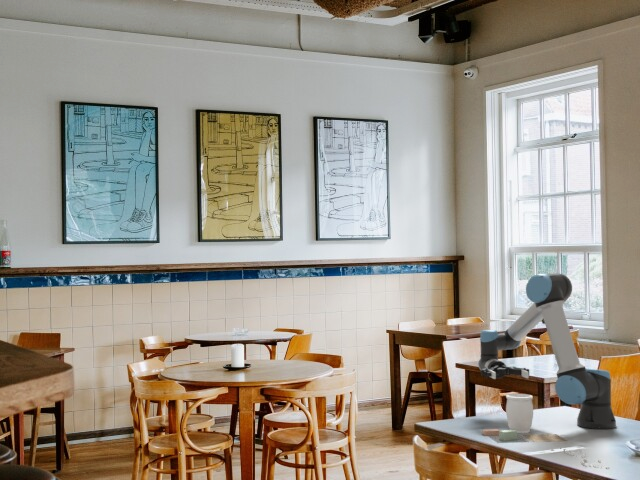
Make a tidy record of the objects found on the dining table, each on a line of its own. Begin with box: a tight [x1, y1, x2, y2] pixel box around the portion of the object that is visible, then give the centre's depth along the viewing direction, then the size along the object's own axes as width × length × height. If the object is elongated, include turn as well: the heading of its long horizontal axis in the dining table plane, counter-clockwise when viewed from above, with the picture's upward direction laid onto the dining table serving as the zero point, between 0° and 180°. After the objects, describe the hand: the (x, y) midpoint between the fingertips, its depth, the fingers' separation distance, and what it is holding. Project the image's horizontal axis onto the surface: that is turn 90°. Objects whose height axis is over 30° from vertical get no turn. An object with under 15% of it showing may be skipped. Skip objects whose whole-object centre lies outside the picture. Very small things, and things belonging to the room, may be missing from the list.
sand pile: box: [522, 433, 568, 443], centre depth 307 cm, size 13×12×1 cm
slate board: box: [488, 434, 530, 444], centre depth 306 cm, size 12×12×1 cm
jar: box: [505, 393, 534, 434], centre depth 321 cm, size 11×10×15 cm
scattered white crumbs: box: [563, 448, 610, 470], centre depth 277 cm, size 7×25×2 cm, turn 1°
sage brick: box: [498, 429, 518, 440], centre depth 306 cm, size 6×3×3 cm, turn 114°
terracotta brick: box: [481, 428, 501, 436], centre depth 314 cm, size 6×3×3 cm, turn 97°
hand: (511, 375), depth 331 cm, fingers open, 13 cm apart
